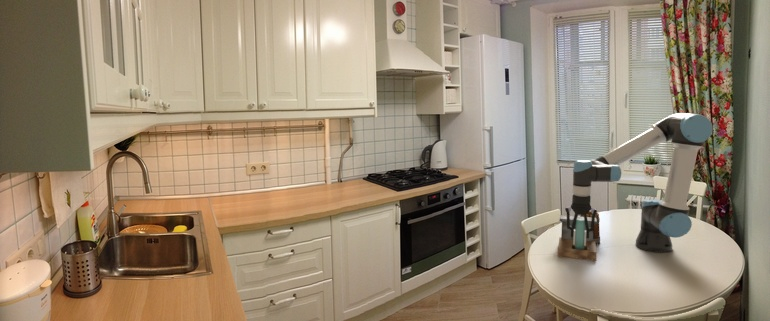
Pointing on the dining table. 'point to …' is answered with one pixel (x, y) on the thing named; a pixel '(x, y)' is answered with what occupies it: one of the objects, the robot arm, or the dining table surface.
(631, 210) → the dining table surface
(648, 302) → the dining table surface
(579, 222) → the peg
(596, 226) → the mug
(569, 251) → the socket block
